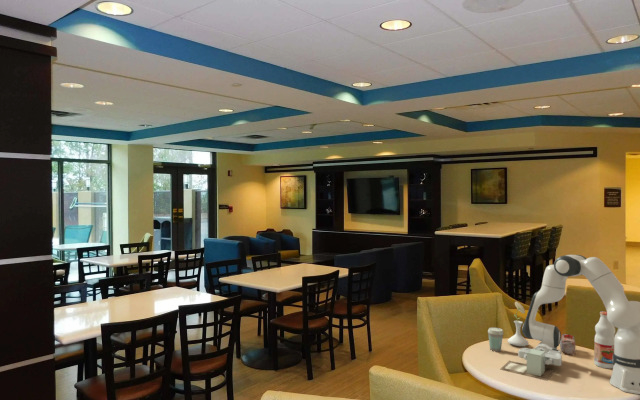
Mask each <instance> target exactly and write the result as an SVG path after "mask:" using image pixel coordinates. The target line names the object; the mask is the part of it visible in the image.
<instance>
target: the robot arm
mask: <svg viewBox="0 0 640 400" xmlns="http://www.w3.org/2000/svg"><path fill="white" fill-rule="evenodd" d="M579 276H583V277H585V278H586V279H587V282H589V284H590V285H591V287H593V289H594V291H595V292H596V293H597V294H598V296H599V297H600V299H601V301H602V303H603V306H604V307H605V310H606V311H605V312H607V319H608V321H609V322H610V324H611V325H613V326H614V327H615V328H617V329H616V330H617V331H616V332H615V335H614V353H613V368H612V372H611V376H610V379H609V384H611V385H612V386H614V387H615V388H617V389H620V390H621V391H622V392H625V393H629V394H635V395H640V301H637V300H628V298H627V296H626V293H625V291H624V289H625V288H624V286H623V284H622V283H621V281H619V279H618V278H617V276H616V275H615V274H614V273H613V272H612V270H611V269H610V268H609V267H608V265H606V263H604V262H603V261H602V259H600V258H598V257H597V256H589V257H588V258H586V257H585V256H583V255H581V254H566V255H561V256H559V257H557V258H556V259H555V260H554V262H553V264H550V265H547V266H546V267H545V270H544V273H543V277H542V282H541V286H540V289H539V290H538V291H536V292H535V293H534V294H533V295H532V298H531V301H530V304H529V308H528V310H527V314H526V318H525V320H524V321H523V323H522V326H521V327H522V328H521V330H522V331H521V333H522V334H523V336H524V338H525V339H529V340H536V341H539V343H538V344H537V346H535V347H534V348H533V349H536V350H541V351H545V366H546V365H547V366H548V365H553V366H557V367H560V366H561V367H562V365H563V364H562V362H563V359H562V357H563V355H562V351H561V350H559V349H558V347H560V340H561V338H562V333H561V331H560V329H559V327H558V326H557V325H554V324H549V323H544V322H541V321H537V320H536V317H537V314H538V311H539V308H540V306H541V305H545V304H553V303H556V302H559V301H561V300H562V299H563V297H565V296H564V295H565V292H566V285H567V284H566V283H567V279H568V278H569V277H579ZM530 349H531V348H528V347H522V348H519V349H518V351H517V355H518V357H519V358H521V359H524V361H527V352H528V351H529V350H530Z"/></svg>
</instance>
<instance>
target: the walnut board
mask: <svg viewBox="0 0 640 400" xmlns="http://www.w3.org/2000/svg"><path fill="white" fill-rule="evenodd" d="M499 370H501V371H505V372H508V373H513V374H517V375H521V376H525V377H529V378H534V379H537V380H538V379H539V380H542V381H548V382H549V379H550V378H551V377H552V376H553V374H554V373H555V370H553V369H549V368H545V372H544V373H543V374H542V375H541V376H537V375H533V374H529V373H527V363H521V362H517V361H512V360H508V361H507V362H506V363H505V364H503V365H502V366H501V367H500V368H499Z"/></svg>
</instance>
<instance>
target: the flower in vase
mask: <svg viewBox="0 0 640 400" xmlns="http://www.w3.org/2000/svg"><path fill="white" fill-rule="evenodd" d="M514 305H515V307H516V309H517V311H515V312H516V314H515V313H514V315H513V317H515V318H516V320H514V321H513V323H514V324H515V328H516V329H515V331H516V332H515V333H514V335H512V336H511V337H509V338H508V339H507V342H508V344H510V345H512V346H517V347H527V346H528V345H529V341H528V340H527V338H526V337H525V336H524V335H522V334H521V329H522V328H521V327H522V326H523V324H524V321H521V320H519V319H521V318H522V316H521V317H518V316H517V314H518V311H519V312H520V313H521V314H525V313H526V309H525V308H524V306H523V305H522V304H521V302H518V301H515V302H514Z"/></svg>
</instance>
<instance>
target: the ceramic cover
mask: <svg viewBox="0 0 640 400" xmlns="http://www.w3.org/2000/svg"><path fill="white" fill-rule="evenodd" d="M529 349H530V350H529V351H528V352H527V360H526V364H527V373H529V374H533V375H537V376H541V375H542V374H543V373H544V372H545V369H546V364H545V351H541V350H536V349H534V348H529Z"/></svg>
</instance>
